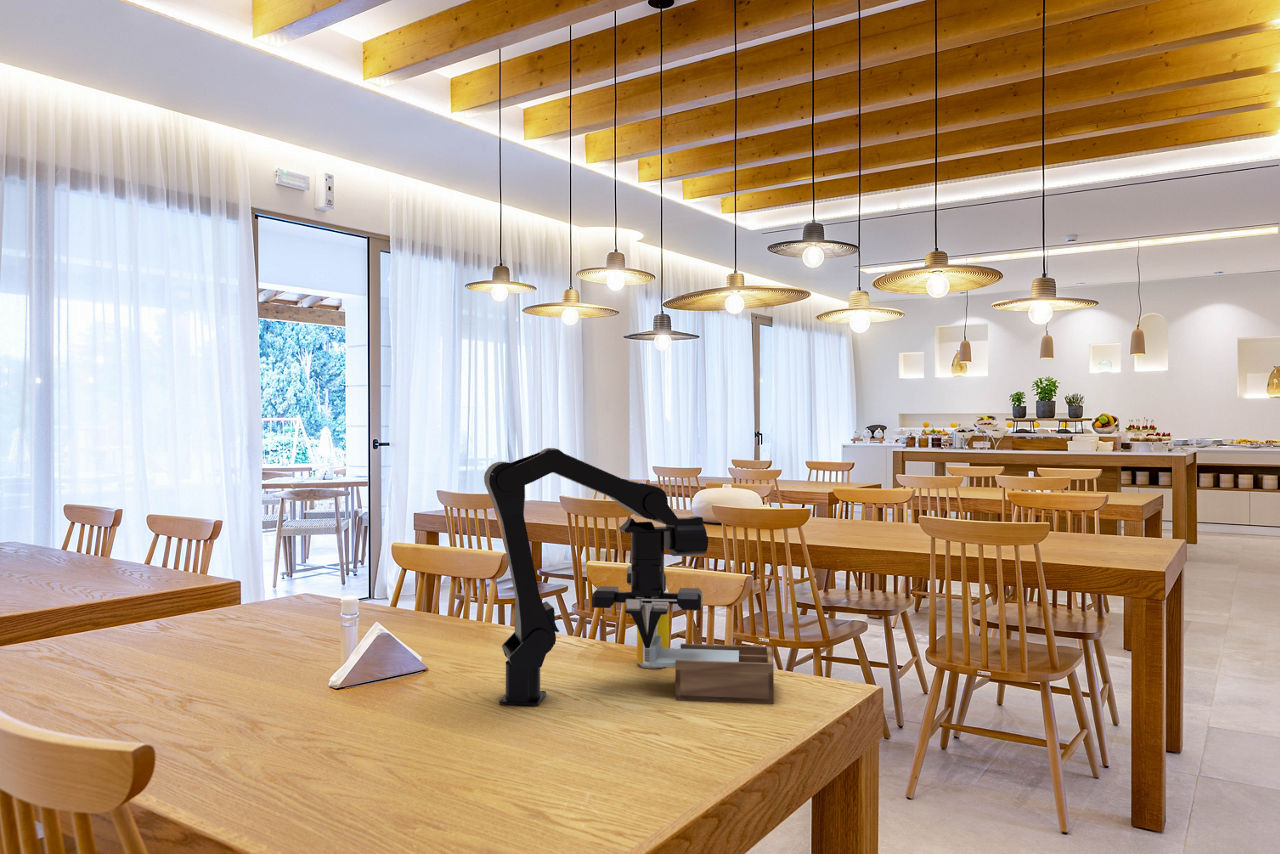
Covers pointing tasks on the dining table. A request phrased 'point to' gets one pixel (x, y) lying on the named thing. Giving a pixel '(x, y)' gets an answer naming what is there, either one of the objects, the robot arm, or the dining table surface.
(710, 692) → the walnut box
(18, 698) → the dining table surface
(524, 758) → the dining table surface
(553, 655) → the dining table surface
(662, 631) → the beer can
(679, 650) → the lid
